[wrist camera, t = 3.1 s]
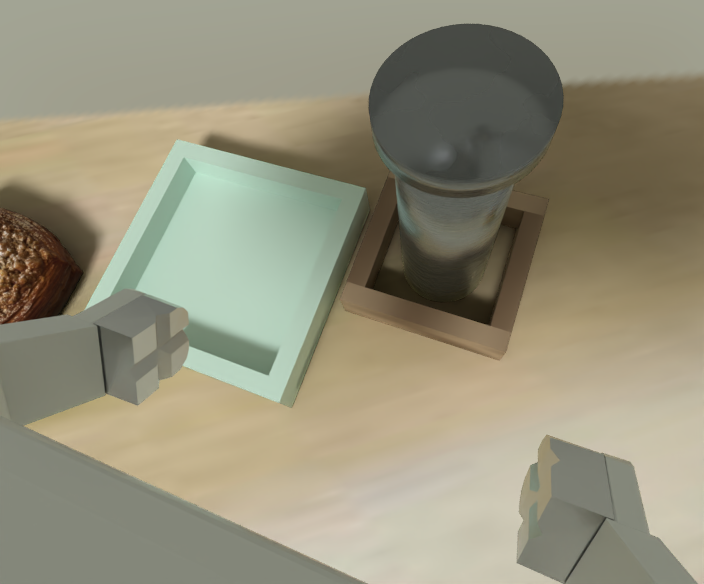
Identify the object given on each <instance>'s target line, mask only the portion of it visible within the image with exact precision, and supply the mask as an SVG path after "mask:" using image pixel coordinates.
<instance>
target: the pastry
mask: <svg viewBox="0 0 704 584" xmlns="http://www.w3.org/2000/svg"><path fill="white" fill-rule="evenodd" d="M82 274H83V272H82V270H81V269H80V268H79V266H78V265H76V263H75V261H74V260H73V258H72V257H71V256H70V254H69V252H68V251H67V250H66V248H64V247H63V246H62V245H61V243H60V241H59V239H58V238H57V237H56V236H54V234H53V233H51V232H50V231H49V230H47V229H46V228H45V227H43V226H41V225H40V224H38V223H37V222H35V221H33V220H31V219H30V218H27V217H25V216H23V215H21V214H19V213H16V212H12V211H9V210H6V209H4V208H0V325H2V324H9V323H15V322H22V321H28V320H35V319H41V318H48V317H54V316H58V315H59V313H60V312H61V311H62V310H63V308H64V307H65V305H66V303H67V302H68V300H69V298H70V295H71V293H72V292H73V290H74V289H75V288H76V286H77V284H78V282H79V279H80V276H81V275H82Z"/></svg>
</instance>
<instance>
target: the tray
mask: <svg viewBox="0 0 704 584" xmlns="http://www.w3.org/2000/svg"><path fill="white" fill-rule="evenodd" d="M369 211H370V207H369V202H368V197H367V192H366V188H364V187H360V186H356V185H352V184H348V183H344V182H340V181H337V180H333V179H329V178H325V177H321V176H317V175H313V174H309V173H306V172H302V171H298V170H294V169H290V168H286V167H282V166H278V165H275V164H271V163H267V162H263V161H259V160H255V159H251V158H247V157H243V156H240V155H236V154H232V153H228V152H224V151H220V150H216V149H212V148H209V147H205V146H201V145H197V144H193V143H189V142H185V141H181V140H176V142H175V144H174V146H173V148H172V150H171V151H170V153H169V155H168V157H167V159H166V161H165V163H164V164H163V166H162V168H161V170H160V172H159V174H158V175H157V177H156V179H155V181H154V183H153V185H152V186H151V188H150V190H149V192H148V194H147V196H146V198H145V199H144V201H143V203H142V205H141V207H140V209H139V210H138V212H137V214H136V216H135V218H134V220H133V222H132V223H131V225H130V227H129V229H128V231H127V233H126V234H125V236H124V238H123V240H122V242H121V244H120V245H119V247H118V249H117V251H116V253H115V255H114V257H113V258H112V260H111V262H110V264H109V266H108V268H107V269H106V271H105V273H104V275H103V277H102V279H101V280H100V282H99V284H98V286H97V288H96V290H95V292H94V293H93V295H92V297H91V299H90V301H89V303H88V304H87V306H86V308H85V310H86V309H87V308H89V307H91V306H93V305H95V304H97V303H99V302H101V301H102V300H104V299H106V298H108V297H110V296H112V295H114V294H116V293H117V292H119V291H121V290H123V289H135V290H137V291H140V292H143V293H146V294H148V295H152V296H154V297H157V298H160V299H162V300H165V301H168V302H170V303H173V304H176V305H178V306H181V307H183V308H184V309H185V310H186V311H187V312H188V319H189V325H188V326H187V327H186V328H185V329H184V332H185V334H186V336H187V338H188V339H189V351H188V355H187V359H186V360H185V362H184V364H183V365H182V366H185V367H187V368H190V369H192V370H195V371H198V372H200V373H203V374H205V375H208V376H211V377H213V378H216V379H218V380H221V381H224V382H226V383H229V384H231V385H234V386H236V387H239V388H242V389H244V390H247V391H249V392H252V393H255V394H257V395H260V396H262V397H265V398H268V399H270V400H273V401H275V402H278V403H280V404H283V405H286V406H288V407H291V408H292V406H293V403H294V401H295V398H296V396H297V393H298V391H299V388H300V386H301V383H302V381H303V378H304V376H305V373H306V371H307V368H308V366H309V363H310V360H311V358H312V355H313V353H314V350H315V348H316V345H317V343H318V340H319V338H320V335H321V333H322V330H323V328H324V325H325V322H326V320H327V317H328V315H329V312H330V310H331V307H332V305H333V302H334V300H335V297H336V295H337V292H338V290H339V287H340V285H341V282H342V279H343V277H344V274H345V272H346V269H347V267H348V264H349V262H350V259H351V257H352V254H353V252H354V249H355V247H356V244H357V241H358V239H359V236H360V234H361V231H362V229H363V226H364V224H365V221H366V219H367V216H368V214H369Z"/></svg>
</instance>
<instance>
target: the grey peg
mask: <svg viewBox="0 0 704 584" xmlns="http://www.w3.org/2000/svg"><path fill="white" fill-rule="evenodd" d="M562 109H563V89H562V84H561V80H560V77H559V74H558V73H557V70H556V68H555V66H554V65H553V63H552V62H551V61H550V59H549V58H548V56H547V55H546V54H545V53H544V52H543V51H542V50H541V49H540V48H539V47H537V46H536V45H535V44H534V43H532V42H531V41H529V40H527V39H526V38H524V37H522V36H520V35H518V34H516V33H514V32H512V31H509V30H506V29H503V28H499V27H495V26H490V25H482V24H457V25H450V26H445V27H440V28H437V29H433V30H430V31H428V32H425V33H423V34H420V35H418V36H416V37H414V38H412V39H411V40H409V41H407V42H406V43H404V44H403V45H401V46H400V47H399V48H398V49H397V50H395V51H394V52H393V53H392V54H391V55H390V56H389V57H388V58H387V59H386V60H385V62H384V63H383V64H382V66H381V67H380V69H379V70H378V72H377V74H376V76H375V78H374V81H373V83H372V86H371V89H370V95H369V115H370V122H371V129H372V135H373V141H374V144H375V147H376V150H377V152H378V154H379V156H380V158H381V159H382V161H383V162H384V164H385V165H386V166H387V167H388V169H389V170H390V171H391V172H392V173H393V174H394V175H395V184H396V195H397V206H398V217H399V229H400V240H401V251H402V262H403V271H404V275H405V278H406V280H407V282H408V283H409V285H410V286H411V287H412V289H413V290H414V291H415V292H417V293H418V294H419V295H421V296H422V297H424V298H426V299H429V300H432V301H437V302H451V301H456V300H459V299H461V298H464V297H465V296H467V295H469V294H470V293H471V292H472V291H473V290H474V289H475V288H476V287H477V286H478V284H479V283H480V281H481V279H482V276H483V274H484V271H485V268H486V265H487V262H488V259H489V256H490V253H491V250H492V248H493V245H494V242H495V239H496V236H497V233H498V230H499V227H500V224H501V221H502V219H503V216H504V213H505V210H506V207H507V204H508V201H509V198H510V195H511V192H512V190H513V187H514V184H515V183H516V182H518V181H520V180H521V179H522V178H524V177H525V176H526V175H528V174H529V173H530V172H531V171H532V170H533V169H534V168H535V167H536V166H537V165H538V163H539V162H540V161H541V159H542V158H543V156H544V155H545V153H546V151H547V149H548V147H549V145H550V143H551V140H552V138H553V135H554V133H555V130H556V128H557V126H558V123H559V120H560V118H561V114H562Z"/></svg>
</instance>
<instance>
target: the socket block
mask: <svg viewBox="0 0 704 584" xmlns="http://www.w3.org/2000/svg"><path fill="white" fill-rule="evenodd" d="M548 202H549V199H547V198H542V197H538V196H534V195H530V194H526V193H522V192H517V191H513V190H512V192H511V195H510V198H509V201H508V204H507V207H506V210H505V213H504V216H503V219H502V221H501V224H502V225H506V226H509V227H513V228H517V230H516V234H515V237H514V240H513V244H512V247H511V250H510V254H509V257H508V261H507V264H506V267H505V271H504V274H503V277H502V281H501V284H500V287H499V291H498V294H497V297H496V301H495V304H494V308H493V311H492V314H491V318H490V321H489V324H488V325H486V324H482V323H479V322H476V321H473V320H469V319H466V318H463V317H460V316H456V315H453V314H450V313H447V312H444V311H440V310H437V309H434V308H431V307H427V306H424V305H421V304H418V303H414V302H411V301H408V300H405V299H401V298H398V297H395V296H392V295H389V294H385V293H382V292H379V291H376V290H372V289H373V287H374V284H375V281H376V279H377V276H378V273H379V271H380V268H381V265H382V263H383V260H384V257H385V255H386V252H387V249H388V247H389V244H390V241H391V239H392V236H393V233H394V231H395V228H396V225H397V223H398V220H399V217H398V206H397V195H396V184H395V175H394V174H393V173H392V172H391V171H390V172H389V175H388V177H387V180H386V182H385V185H384V187H383V190H382V192H381V195H380V198H379V200H378V203H377V205H376V208H375V210H374V213H373V215H372V218H371V221H370V223H369V226H368V228H367V231H366V233H365V236H364V238H363V241H362V244H361V246H360V249H359V251H358V254H357V256H356V259H355V261H354V264H353V266H352V269H351V272H350V274H349V277H348V279H347V282H346V284H345V287H344V289H343V292H342V295H341V297H340V301H341V303H342V305H343V307H344V309H345V311H348V312H351V313H355V314H358V315H361V316H364V317H367V318H370V319H373V320H376V321H379V322H382V323H385V324H388V325H392V326H395V327H398V328H401V329H404V330H407V331H410V332H413V333H416V334H419V335H422V336H425V337H429V338H432V339H435V340H438V341H441V342H444V343H447V344H450V345H453V346H456V347H459V348H462V349H465V350H469V351H472V352H475V353H478V354H481V355H484V356H487V357H490V358H493V359H496V360H500V359H501V358H502V356H503V355H504V354H505V353H506V350H507V347H508V343H509V340H510V336H511V333H512V329H513V325H514V322H515V318H516V315H517V311H518V308H519V304H520V301H521V297H522V294H523V290H524V287H525V283H526V279H527V276H528V272H529V269H530V265H531V262H532V258H533V255H534V251H535V248H536V244H537V241H538V237H539V233H540V230H541V226H542V223H543V219H544V216H545V212H546V209H547V205H548Z"/></svg>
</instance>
